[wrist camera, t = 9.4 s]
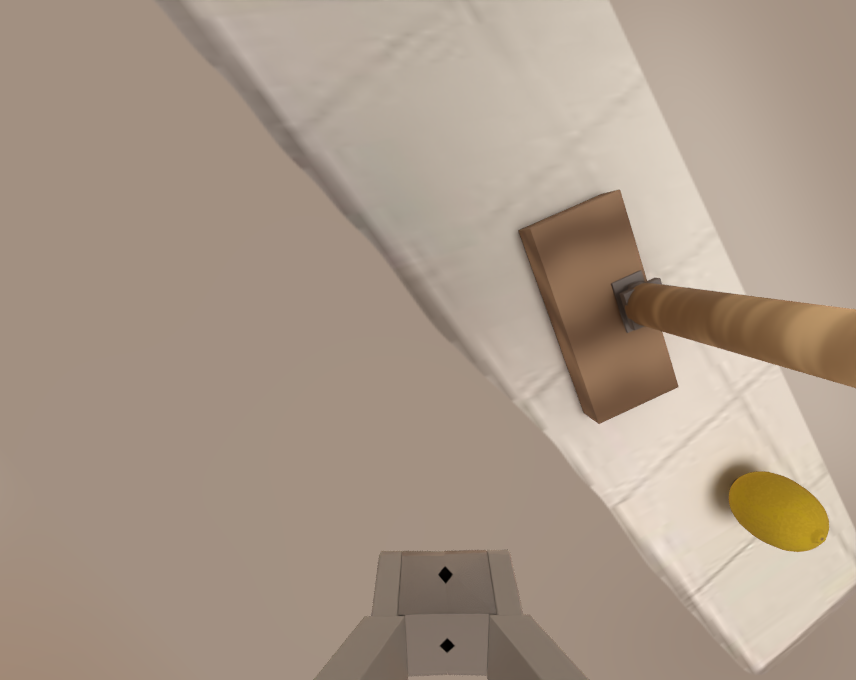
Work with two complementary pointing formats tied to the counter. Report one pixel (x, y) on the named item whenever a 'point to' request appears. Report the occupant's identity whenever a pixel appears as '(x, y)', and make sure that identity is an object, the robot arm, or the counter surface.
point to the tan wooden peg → (751, 326)
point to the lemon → (778, 511)
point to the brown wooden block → (597, 305)
